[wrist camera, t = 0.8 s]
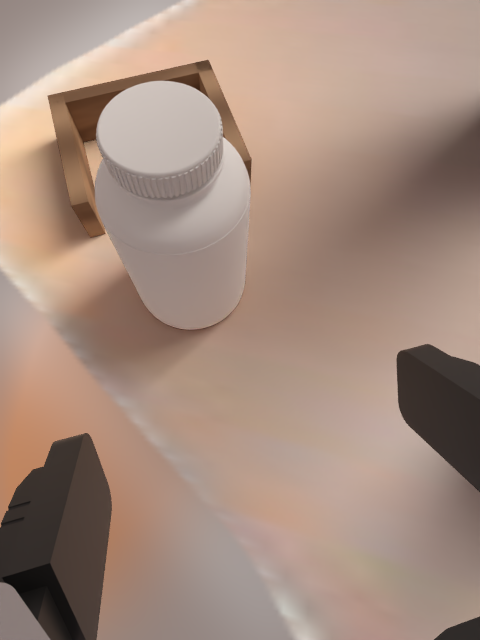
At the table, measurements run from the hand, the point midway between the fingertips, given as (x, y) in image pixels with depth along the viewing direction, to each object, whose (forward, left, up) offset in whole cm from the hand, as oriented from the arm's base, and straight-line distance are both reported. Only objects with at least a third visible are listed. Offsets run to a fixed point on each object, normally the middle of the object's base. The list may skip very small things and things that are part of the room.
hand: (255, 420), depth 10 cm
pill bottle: (-9, -10, -17) cm, 22 cm away
